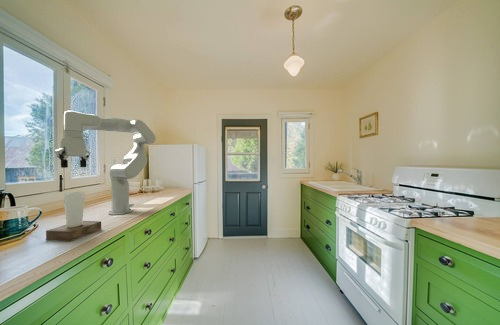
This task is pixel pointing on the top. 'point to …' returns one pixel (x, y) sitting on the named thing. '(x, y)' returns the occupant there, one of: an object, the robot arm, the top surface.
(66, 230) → the walnut block
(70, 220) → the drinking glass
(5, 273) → the top surface
